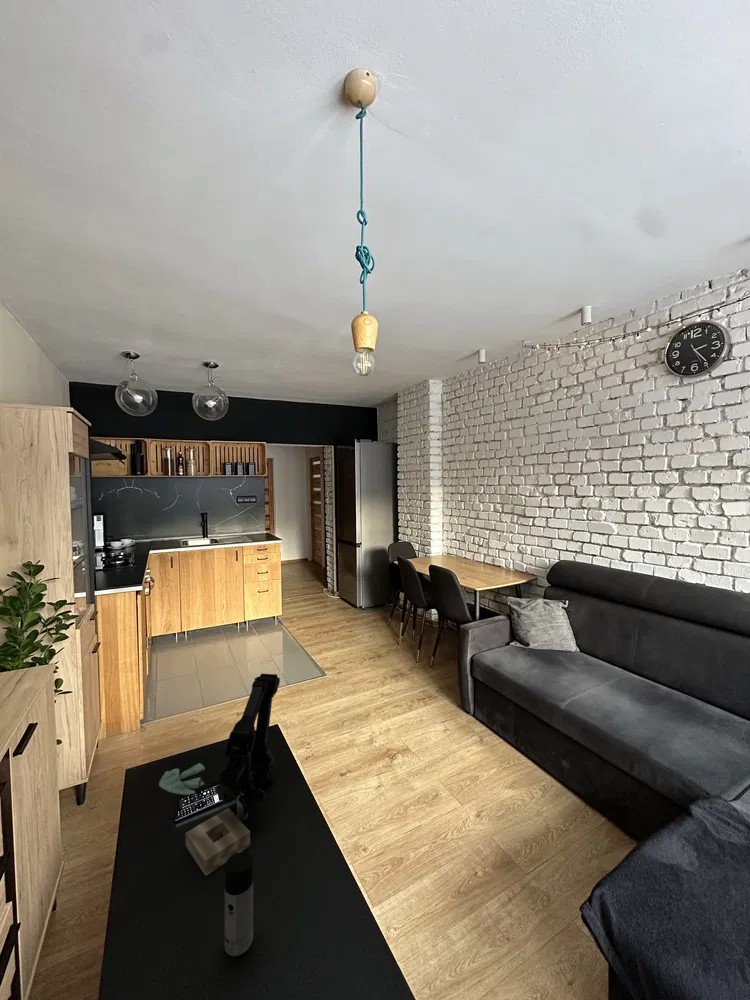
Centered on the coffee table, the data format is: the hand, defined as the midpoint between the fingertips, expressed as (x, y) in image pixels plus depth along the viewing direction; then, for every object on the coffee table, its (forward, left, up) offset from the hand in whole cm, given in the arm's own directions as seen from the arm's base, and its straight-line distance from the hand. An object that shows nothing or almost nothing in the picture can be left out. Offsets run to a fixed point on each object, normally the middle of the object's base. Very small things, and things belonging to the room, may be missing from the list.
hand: (242, 811), depth 140 cm
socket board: (+11, +5, -2) cm, 12 cm away
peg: (0, 0, -2) cm, 2 cm away
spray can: (+20, +35, -2) cm, 40 cm away
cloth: (+5, -31, -3) cm, 32 cm away
